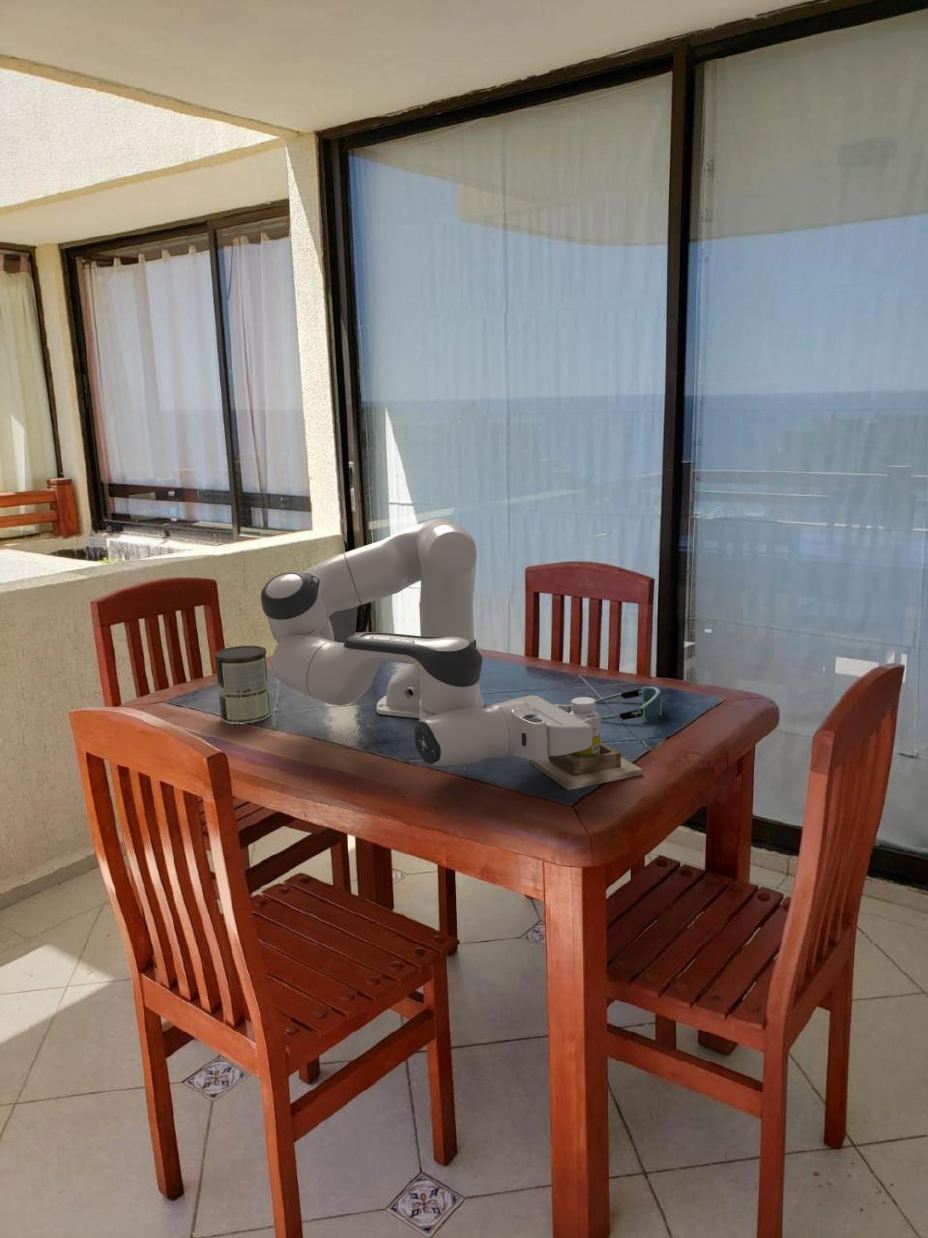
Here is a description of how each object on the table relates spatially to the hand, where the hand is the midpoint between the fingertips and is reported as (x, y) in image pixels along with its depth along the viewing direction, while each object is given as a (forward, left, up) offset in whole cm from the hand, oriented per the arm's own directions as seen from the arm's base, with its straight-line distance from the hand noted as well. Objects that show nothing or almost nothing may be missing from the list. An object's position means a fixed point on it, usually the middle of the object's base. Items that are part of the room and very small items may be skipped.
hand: (588, 715), depth 157 cm
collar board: (-1, 0, -9) cm, 10 cm away
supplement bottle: (-1, -1, -7) cm, 7 cm away
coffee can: (-72, +20, -10) cm, 76 cm away
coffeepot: (-65, +64, -10) cm, 92 cm away
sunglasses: (+5, +31, -10) cm, 33 cm away
